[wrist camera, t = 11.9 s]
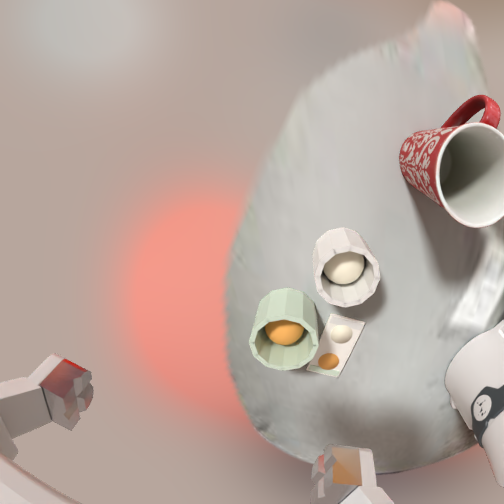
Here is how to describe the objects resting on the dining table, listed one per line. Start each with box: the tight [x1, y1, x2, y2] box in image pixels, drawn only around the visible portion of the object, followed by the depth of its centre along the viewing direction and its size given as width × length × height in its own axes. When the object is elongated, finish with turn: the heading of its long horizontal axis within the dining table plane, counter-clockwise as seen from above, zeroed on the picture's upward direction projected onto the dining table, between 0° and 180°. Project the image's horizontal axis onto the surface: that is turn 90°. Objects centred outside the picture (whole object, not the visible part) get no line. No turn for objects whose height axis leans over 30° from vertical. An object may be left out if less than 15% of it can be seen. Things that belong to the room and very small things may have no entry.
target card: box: [307, 313, 365, 377], centre depth 43 cm, size 5×10×1 cm, turn 166°
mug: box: [399, 95, 504, 228], centre depth 27 cm, size 13×9×14 cm
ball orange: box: [265, 319, 304, 345], centre depth 40 cm, size 5×5×5 cm
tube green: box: [249, 288, 319, 371], centre depth 39 cm, size 8×8×7 cm
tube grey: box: [312, 227, 380, 308], centre depth 36 cm, size 7×7×7 cm
